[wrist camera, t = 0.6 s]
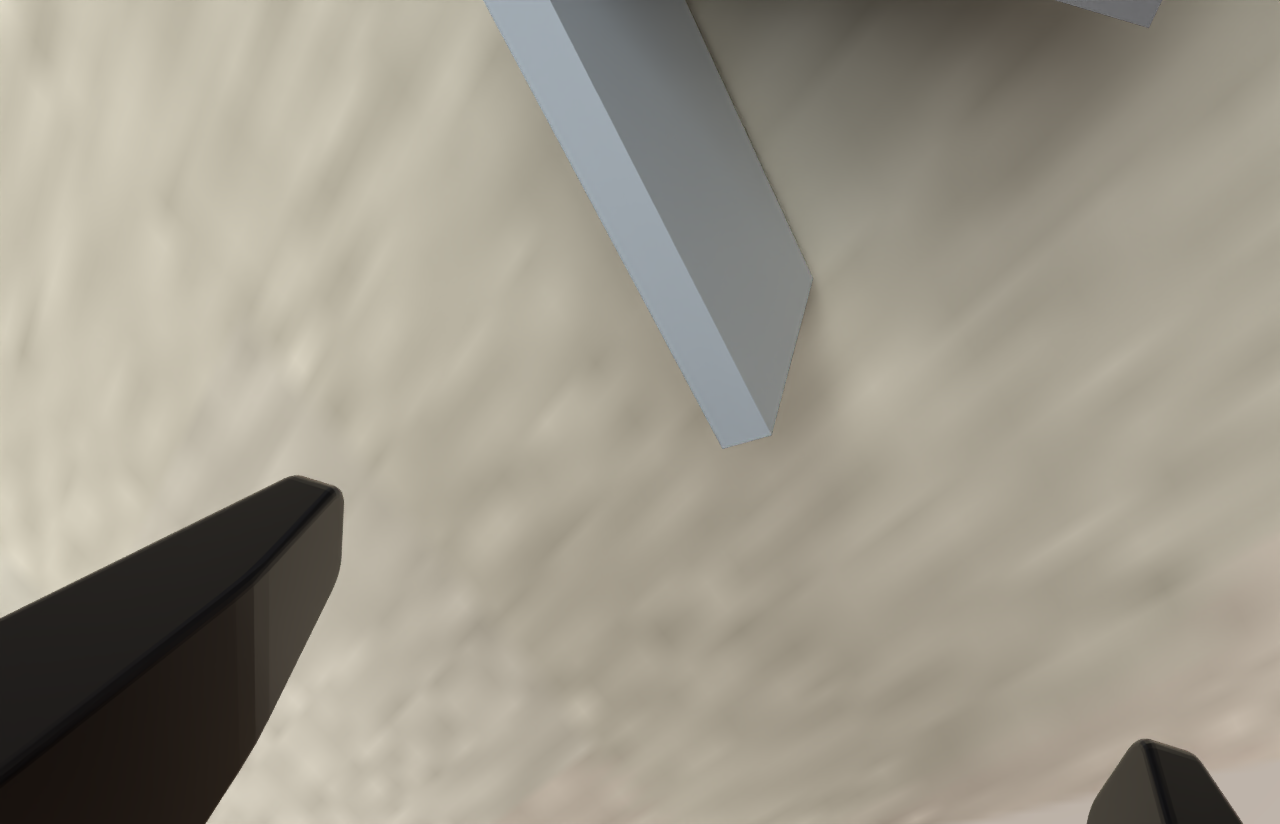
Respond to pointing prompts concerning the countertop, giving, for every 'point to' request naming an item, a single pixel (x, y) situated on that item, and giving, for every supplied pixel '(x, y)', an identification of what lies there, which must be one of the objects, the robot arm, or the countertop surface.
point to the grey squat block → (1121, 9)
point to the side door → (672, 191)
